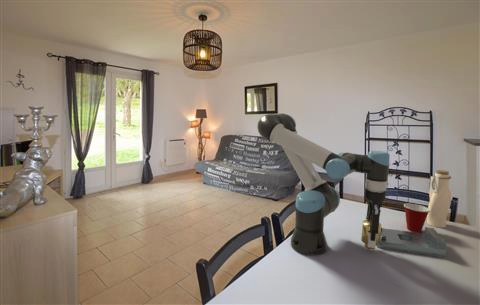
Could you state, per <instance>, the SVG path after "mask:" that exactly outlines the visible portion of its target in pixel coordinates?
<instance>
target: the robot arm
mask: <svg viewBox="0 0 480 305" xmlns="http://www.w3.org/2000/svg"><path fill="white" fill-rule="evenodd" d="M256 126H257V131H258V134H259V135H260V136H261V138H263V139H264V140H266V141H268V142H270V143H272V144H276V145H278V146H281V148H282V150H283V151H284V152H285V155H286V156H287V158H288V160H289V162H290V163H291V165H292V167H293V169H294V170H295V172H296V174H297V176H298V178H299V179H300V181H301V183H302V185H303V186H304V190H303V191H301V192H299V193H298V194H297V195H296V199H295V223H294V224H295V226H294V229H293V232H292V235H291V237H290V246H291V248H292V249H293V250H294V251H295V252H298V253H300V254H302V255H303V254H304V255H308V256H319V255H322V254H324V253H325V252H326V251H327V249H328V242H327V238H326V236H325V232H324V225H325V224H324V221H325V220H324V219H325V218H327V216H329V215H330V214H331V213H335V211H336V210H337V209H338V207H339V206H340V204H341V197H340V194H339V192H338V191H337V189H335V188H334V187H332V186H330V185H329V183H328V182H327V180H324V179H322V178H321V176H320V174H319V173H318V171H317V169H316V168H315V166H314V165H316V166H317V167H319V168H321V169H323V170H325V173H326V174H327V176H328V177H330V178H331V179H334V180H339V179H342V178H346V177H347V176H348V175H350V174H352V173H360V174H365V175H366V177H365V184H364V185H365V186H364V187H365V189H364V195H363V196H364V198H365V199H366V200H367V208H366V209H367V210H366V215H365V216H366V217H365V220H370V231H368V232H369V237H368V247H372V248H375V249H376V248H377V246H376V237H377V234H378V233H379V232H378V230H379V223H380V216H381V211H382V210H381V204H380V202H382V203H383V202H384V201H386V196H387V186H388V185H389V183H390V182H388V177H389V171H390V170H389V168H390V153H389V152H387V151H384V150H370V151H368V153H367V154H357V153H352V152H339V153H334V152H333V151H331V150H329V149H327V148H325V147H323V146H321V145H319V144H317V143H315V142H313V141H311V140H309V139H307V138H305V137H303V136H301V135H299V134H298V131H297V130H296V129H297V128H296V126H297V123H296V120H295V119H294V118H293V117H292V116H291V115H290V114H287V113H269V114H265V115H262V116H261V117H260V119H259V120H258V122H257V125H256ZM313 164H314V165H313Z"/></svg>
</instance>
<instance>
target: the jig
mask: <svg viewBox="0 0 480 305" xmlns="http://www.w3.org/2000/svg"><path fill="white" fill-rule="evenodd" d="M376 248H379V249H386V250H391V251H399V252H406V253H413V254H419V255H420V254H421V255H425V256H427V255H428V256H434V257H439V258H440V257H441V258H446V253H447V242H446V241H445V240H444V238H443V237H442V236H441V234H439V233H438V232H437V231H436V230H435V229H434V227H427V226H425V227H424V233H423V232H412V231H410V230H408V231H407V230H399V229H393V228H384V227H382V226H381V234H380V243H379V245H377V246H376Z"/></svg>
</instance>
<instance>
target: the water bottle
mask: <svg viewBox="0 0 480 305" xmlns="http://www.w3.org/2000/svg"><path fill="white" fill-rule="evenodd" d="M451 179H452V177H451V176H450V172H449V171H448V170H443V169H437V170H435V174H433V176H430V181H429V182H430V183H429V184H430V185H429V189H428V190H429V193H428V194H429V203H428V207H427V208H429V209H430V212H429V213H428V215H427V217H426V223H427V225H430V226H432V227H436V228H446V227H447V217H448V213H449V210H450V207H451V202H452V192H451V189H450V187H449V185H450V180H451Z"/></svg>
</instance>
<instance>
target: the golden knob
mask: <svg viewBox="0 0 480 305" xmlns="http://www.w3.org/2000/svg"><path fill="white" fill-rule="evenodd" d="M381 227H382V224H381V223H380V222H379V230H378V232H379V233H378V234H377V237H376V247H377V245H379V243H380V234H381ZM368 231H370V220H366V219H365V220H362V228H361V238H360V240H361V243H364V244H363V245H364V248H366V249H368V250H372V251H373V250H375V249H376V247H375V248H372V247H368V237H369V232H368Z"/></svg>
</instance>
